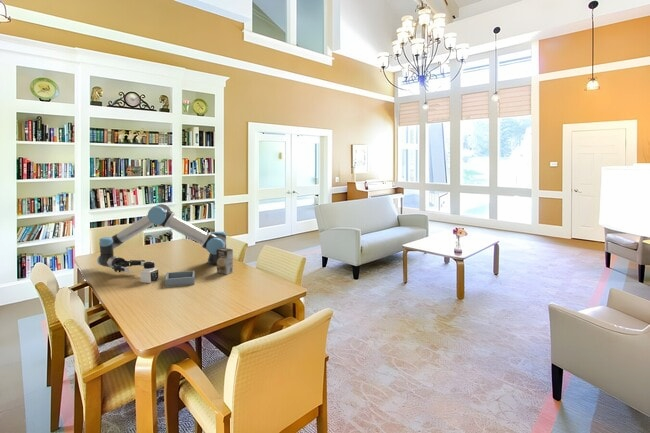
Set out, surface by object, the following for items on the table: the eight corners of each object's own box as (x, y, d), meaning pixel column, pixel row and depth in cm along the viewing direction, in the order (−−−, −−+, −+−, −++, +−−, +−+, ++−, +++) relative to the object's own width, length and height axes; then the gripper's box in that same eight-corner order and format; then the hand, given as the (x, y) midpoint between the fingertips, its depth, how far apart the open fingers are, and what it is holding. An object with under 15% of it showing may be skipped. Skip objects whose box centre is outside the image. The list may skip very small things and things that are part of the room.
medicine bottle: (151, 283, 217) (150, 264, 215) (140, 282, 218) (139, 263, 216) (158, 279, 224) (158, 261, 222) (148, 278, 225) (147, 260, 223)
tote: (194, 277, 229) (194, 270, 229) (194, 284, 216) (194, 277, 215) (167, 279, 224) (167, 272, 223) (165, 286, 211) (165, 279, 210)
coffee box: (216, 272, 240) (215, 249, 238) (222, 270, 246) (222, 247, 243) (227, 274, 236) (226, 251, 234) (233, 272, 242) (233, 249, 240)
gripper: (134, 264, 245) (156, 268, 236) (98, 273, 223) (120, 278, 213) (134, 253, 244) (155, 257, 235) (97, 261, 222) (119, 266, 212)
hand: (138, 267), depth 224 cm, fingers open, 13 cm apart
